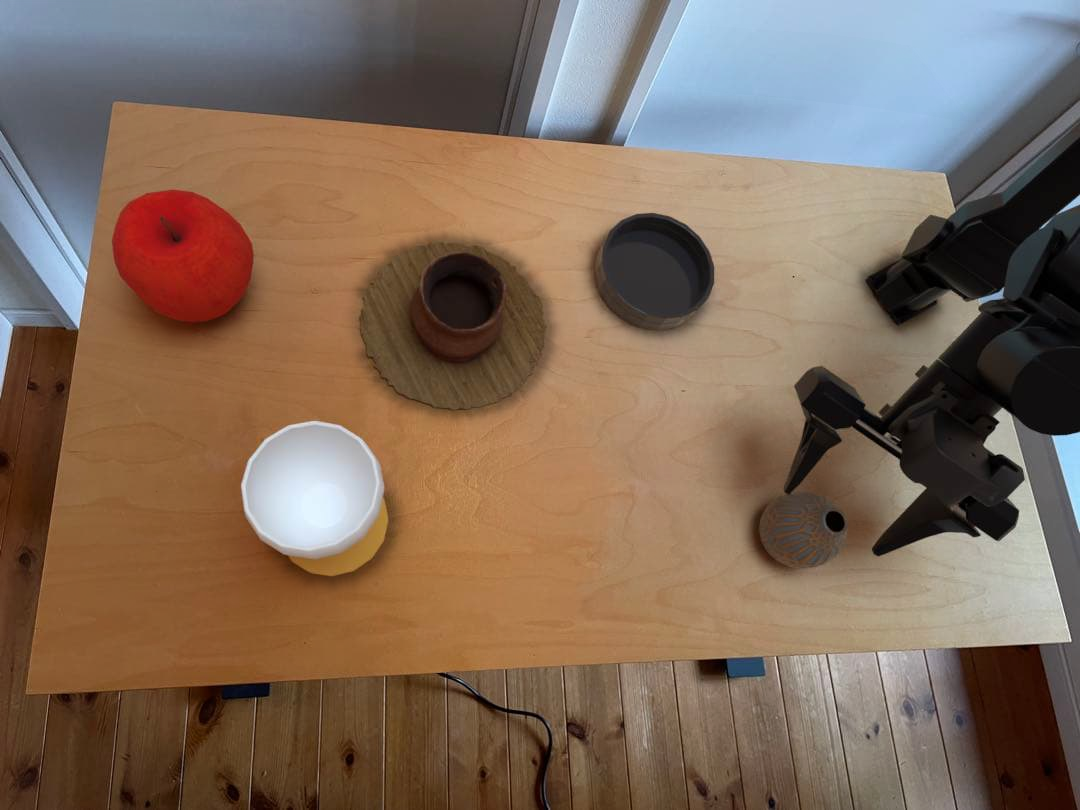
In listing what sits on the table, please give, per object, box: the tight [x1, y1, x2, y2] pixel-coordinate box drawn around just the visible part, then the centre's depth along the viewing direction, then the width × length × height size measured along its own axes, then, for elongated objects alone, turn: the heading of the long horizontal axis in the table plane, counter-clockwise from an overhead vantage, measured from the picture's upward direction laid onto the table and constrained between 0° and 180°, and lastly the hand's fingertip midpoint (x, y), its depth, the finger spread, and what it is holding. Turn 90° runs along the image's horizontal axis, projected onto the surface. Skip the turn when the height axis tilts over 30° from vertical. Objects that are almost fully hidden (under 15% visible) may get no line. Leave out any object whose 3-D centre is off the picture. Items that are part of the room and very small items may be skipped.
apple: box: [111, 189, 254, 323], centre depth 56 cm, size 10×10×12 cm
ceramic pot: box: [358, 241, 548, 411], centre depth 62 cm, size 18×18×7 cm
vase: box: [758, 490, 849, 569], centre depth 61 cm, size 7×7×9 cm
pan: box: [594, 212, 715, 331], centre depth 70 cm, size 12×12×3 cm
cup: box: [240, 420, 389, 577], centre depth 50 cm, size 9×9×16 cm
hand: (829, 522), depth 58 cm, fingers open, 9 cm apart
